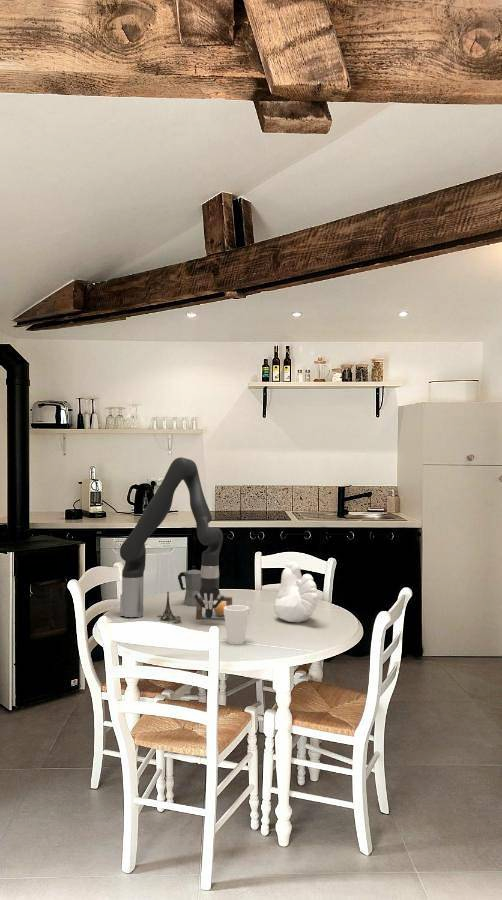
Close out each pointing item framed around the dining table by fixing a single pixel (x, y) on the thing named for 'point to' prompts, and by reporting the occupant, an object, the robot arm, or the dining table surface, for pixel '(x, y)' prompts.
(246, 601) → the dining table surface
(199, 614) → the bridge
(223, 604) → the ball
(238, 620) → the foam cup
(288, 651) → the dining table surface
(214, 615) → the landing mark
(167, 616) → the eiffel tower figurine
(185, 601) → the coffeepot
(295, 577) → the decorative rooster
